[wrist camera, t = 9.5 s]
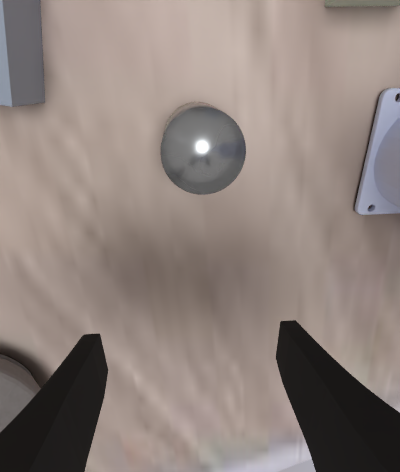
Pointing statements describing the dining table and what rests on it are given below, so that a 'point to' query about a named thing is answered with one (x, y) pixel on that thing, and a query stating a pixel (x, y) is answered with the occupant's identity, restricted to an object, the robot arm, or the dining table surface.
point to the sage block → (361, 3)
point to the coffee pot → (14, 389)
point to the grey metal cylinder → (202, 148)
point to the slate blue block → (21, 53)
